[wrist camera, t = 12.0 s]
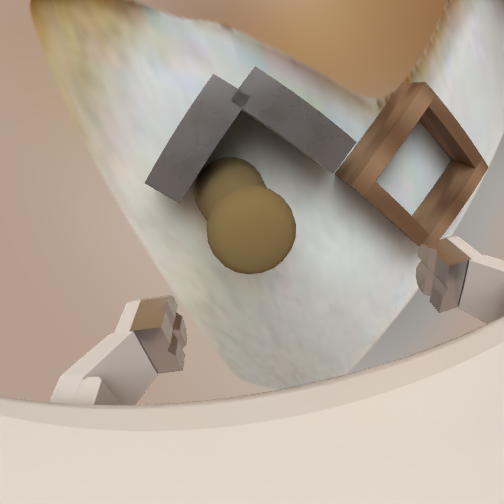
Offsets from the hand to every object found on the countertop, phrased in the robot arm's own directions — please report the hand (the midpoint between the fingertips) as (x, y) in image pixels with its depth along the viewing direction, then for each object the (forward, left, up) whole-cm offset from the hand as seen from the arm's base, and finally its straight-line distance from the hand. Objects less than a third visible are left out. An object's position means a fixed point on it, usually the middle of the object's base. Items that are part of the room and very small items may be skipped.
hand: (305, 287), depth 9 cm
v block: (-3, -3, -18) cm, 19 cm away
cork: (+3, -1, -18) cm, 18 cm away
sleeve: (-10, +12, -18) cm, 24 cm away
